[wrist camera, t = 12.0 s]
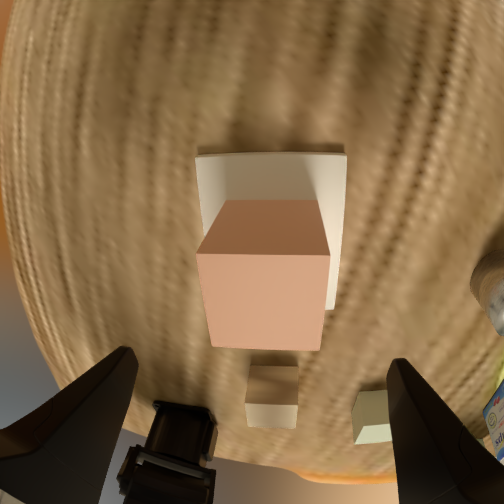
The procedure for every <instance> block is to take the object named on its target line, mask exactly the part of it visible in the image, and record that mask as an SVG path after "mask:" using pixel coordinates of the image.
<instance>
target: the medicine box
mask: <svg viewBox="0 0 504 504" xmlns="http://www.w3.org/2000/svg"><path fill="white" fill-rule="evenodd" d="M483 415H484V418H485V421H486V424H487V427H488V430H489V433H490V436H491V439H492V443H493V446H494V450H495V453H496V457H497V460H498V461H501V460H504V380H503V381H502V383H501V385H500V386H499V388H498V389H497V391H496V393H495V394H494V396H493V397H492V399H491V400H490V402H489V403H488V405H487V406H486V408H485V409H484V410H483Z"/></svg>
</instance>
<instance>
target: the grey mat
mask: <svg viewBox="0 0 504 504" xmlns="http://www.w3.org/2000/svg"><path fill="white" fill-rule="evenodd" d="M195 163H196V172H197V181H198V190H199V199H200V207H201V215H202V223H203V231H204V238H205V236H206V234H207V233H208V231H209V229H210V227H211V225H212V224H213V222H214V220H215V218H216V216H217V215H218V213H219V211H220V209H221V208H222V206H223V204H224V202H225V201H226V200H318V204H319V208H320V212H321V216H322V220H323V224H324V228H325V233H326V237H327V241H328V246H329V250H330V255H331V257H330V268H329V278H328V288H327V297H326V305H325V309H334V304H335V297H336V289H337V281H338V272H339V263H340V254H341V244H342V232H343V220H344V206H345V190H346V170H347V155H346V154H345V153H333V152H245V153H222V154H205V155H198V156H197V157H195Z"/></svg>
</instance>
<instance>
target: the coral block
mask: <svg viewBox="0 0 504 504" xmlns="http://www.w3.org/2000/svg"><path fill="white" fill-rule="evenodd" d="M330 257H331V255H330V250H329V246H328V241H327V237H326V233H325V228H324V224H323V220H322V216H321V212H320V208H319V204H318V200H226V201H225V202H224V204H223V206H222V208H221V209H220V211H219V213H218V215H217V216H216V218H215V220H214V222H213V224H212V225H211V227H210V229H209V231H208V233H207V234H206V236H205V238H204V240H203V242H202V243H201V245H200V247H199V249H198V251H197V253H196V258H197V264H198V271H199V277H200V283H201V289H202V294H203V300H204V306H205V311H206V317H207V322H208V327H209V333H210V338H211V343H212V346H215V347H229V348H246V349H268V350H320V343H321V336H322V329H323V321H324V313H325V305H326V297H327V288H328V278H329V268H330Z"/></svg>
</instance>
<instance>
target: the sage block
mask: <svg viewBox="0 0 504 504" xmlns="http://www.w3.org/2000/svg"><path fill="white" fill-rule="evenodd" d="M351 415H352V425H353V438H354V445H355V444H367V443H377V442H386V441H392V436H391V429H390V423H389V413H388V395H387V390H378V391H363V392H359V394H358V397H357V399H356V402H355V405H354V407H353V410H352V412H351Z"/></svg>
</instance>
